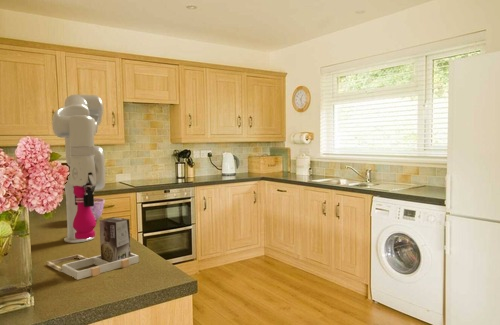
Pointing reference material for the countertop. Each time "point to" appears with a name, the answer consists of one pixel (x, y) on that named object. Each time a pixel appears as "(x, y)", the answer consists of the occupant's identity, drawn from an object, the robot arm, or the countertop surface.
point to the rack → (100, 268)
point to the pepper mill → (83, 217)
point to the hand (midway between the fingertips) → (84, 204)
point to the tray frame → (52, 263)
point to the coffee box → (115, 239)
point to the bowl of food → (97, 207)
